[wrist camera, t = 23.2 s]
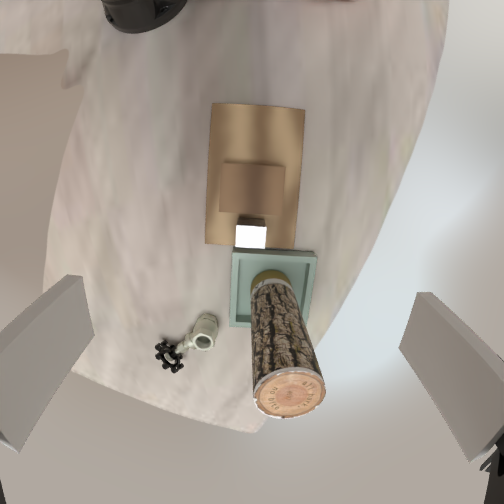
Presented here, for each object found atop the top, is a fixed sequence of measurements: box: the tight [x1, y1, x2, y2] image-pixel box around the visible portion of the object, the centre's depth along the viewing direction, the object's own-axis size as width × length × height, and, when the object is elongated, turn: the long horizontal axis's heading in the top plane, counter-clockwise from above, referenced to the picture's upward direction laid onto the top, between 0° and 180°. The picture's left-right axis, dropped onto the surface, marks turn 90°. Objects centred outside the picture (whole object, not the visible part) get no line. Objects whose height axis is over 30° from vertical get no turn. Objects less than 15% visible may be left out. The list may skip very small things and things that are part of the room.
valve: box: [155, 313, 218, 373], centre depth 48 cm, size 7×7×12 cm
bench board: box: [205, 103, 305, 249], centre depth 43 cm, size 14×22×1 cm, turn 176°
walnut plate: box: [219, 163, 286, 216], centre depth 41 cm, size 9×7×3 cm
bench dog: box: [235, 217, 267, 249], centre depth 42 cm, size 4×3×6 cm
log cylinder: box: [250, 270, 326, 419], centre depth 36 cm, size 7×7×25 cm
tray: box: [229, 247, 317, 328], centre depth 47 cm, size 13×13×3 cm
